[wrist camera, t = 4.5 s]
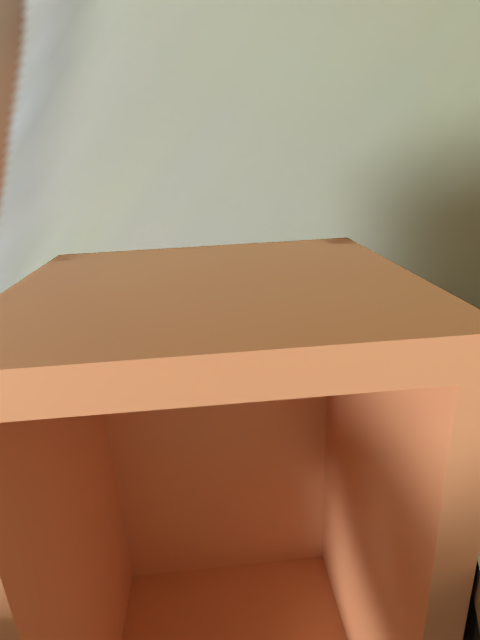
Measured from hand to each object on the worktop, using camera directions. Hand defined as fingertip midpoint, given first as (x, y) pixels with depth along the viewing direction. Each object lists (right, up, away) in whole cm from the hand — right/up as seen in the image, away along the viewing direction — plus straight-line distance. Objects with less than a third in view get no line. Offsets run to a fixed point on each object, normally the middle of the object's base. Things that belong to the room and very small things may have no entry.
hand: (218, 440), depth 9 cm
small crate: (0, 0, +1) cm, 1 cm away
